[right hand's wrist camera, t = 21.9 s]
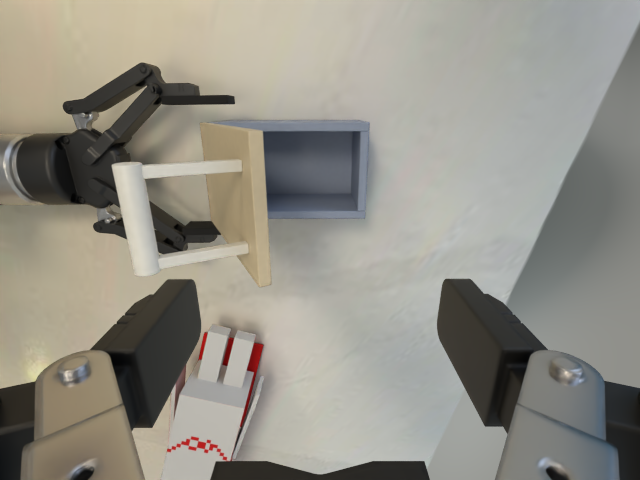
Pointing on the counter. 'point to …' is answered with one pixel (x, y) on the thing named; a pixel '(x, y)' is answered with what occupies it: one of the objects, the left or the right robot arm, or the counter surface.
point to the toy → (212, 405)
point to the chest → (313, 167)
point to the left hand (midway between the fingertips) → (238, 167)
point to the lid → (224, 200)
